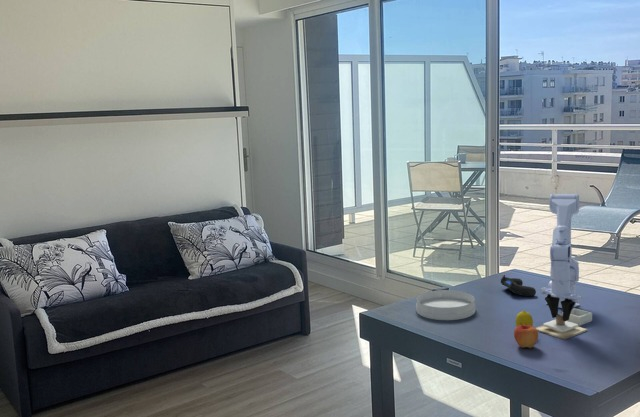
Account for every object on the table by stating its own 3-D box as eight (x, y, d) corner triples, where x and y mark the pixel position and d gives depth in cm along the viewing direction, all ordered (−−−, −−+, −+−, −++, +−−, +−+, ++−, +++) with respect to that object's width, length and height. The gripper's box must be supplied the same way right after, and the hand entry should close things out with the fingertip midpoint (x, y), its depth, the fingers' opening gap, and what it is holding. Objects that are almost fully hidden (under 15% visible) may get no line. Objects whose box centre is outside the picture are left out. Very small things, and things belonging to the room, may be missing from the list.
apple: (540, 351, 200) (540, 327, 199) (515, 351, 201) (515, 326, 200) (536, 342, 207) (536, 319, 206) (512, 342, 208) (512, 319, 207)
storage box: (562, 320, 226) (562, 312, 225) (574, 316, 230) (574, 308, 229) (579, 325, 220) (579, 317, 219) (592, 320, 224) (592, 312, 223)
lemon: (524, 337, 212) (524, 314, 211) (512, 332, 217) (512, 310, 216) (536, 334, 214) (536, 311, 213) (524, 329, 219) (524, 307, 218)
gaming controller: (515, 291, 270) (495, 281, 268) (522, 279, 269) (502, 269, 268) (532, 303, 253) (510, 292, 252) (539, 291, 253) (518, 280, 251)
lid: (542, 328, 218) (542, 315, 217) (557, 322, 222) (557, 310, 221) (563, 334, 211) (563, 321, 210) (578, 328, 215) (578, 315, 215)
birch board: (534, 329, 218) (534, 328, 218) (556, 321, 225) (556, 320, 225) (564, 339, 208) (564, 337, 208) (587, 330, 215) (587, 329, 215)
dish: (451, 325, 228) (450, 311, 227) (404, 312, 245) (403, 299, 244) (487, 309, 242) (487, 296, 242) (440, 298, 259) (440, 286, 258)
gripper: (534, 277, 218) (534, 316, 220) (572, 286, 206) (571, 327, 208) (548, 273, 221) (547, 311, 224) (585, 282, 209) (585, 322, 212)
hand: (560, 318), depth 216 cm, fingers open, 4 cm apart
